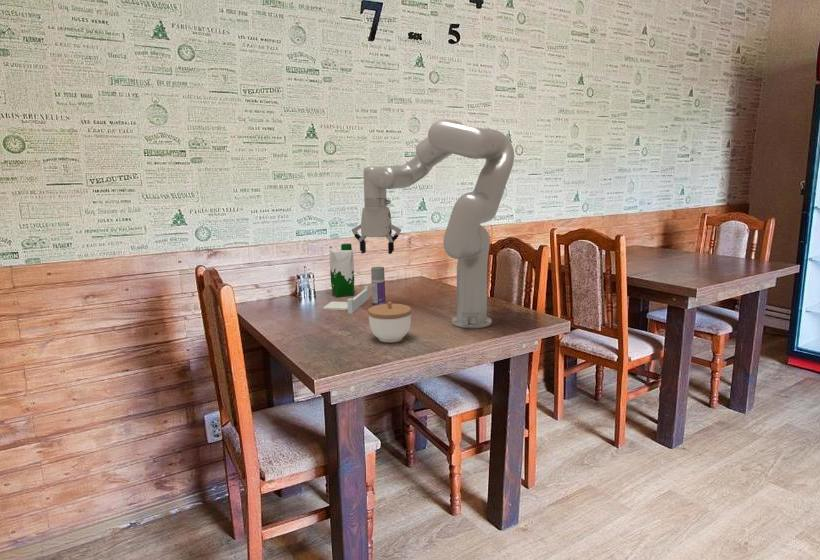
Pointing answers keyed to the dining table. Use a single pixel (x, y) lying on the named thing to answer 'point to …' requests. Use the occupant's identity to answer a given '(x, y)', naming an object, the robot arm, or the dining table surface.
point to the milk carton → (342, 271)
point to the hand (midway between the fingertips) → (376, 253)
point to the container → (378, 285)
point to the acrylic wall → (358, 300)
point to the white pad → (336, 306)
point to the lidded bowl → (389, 321)
